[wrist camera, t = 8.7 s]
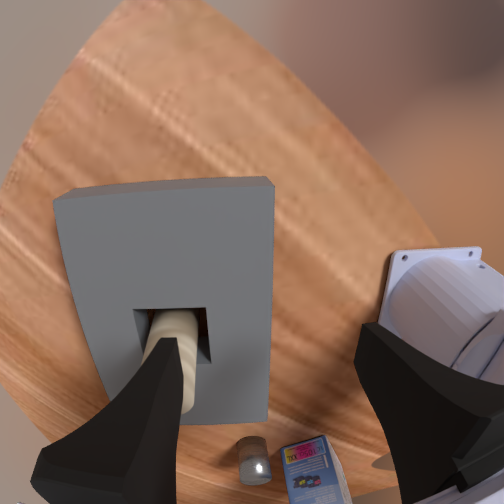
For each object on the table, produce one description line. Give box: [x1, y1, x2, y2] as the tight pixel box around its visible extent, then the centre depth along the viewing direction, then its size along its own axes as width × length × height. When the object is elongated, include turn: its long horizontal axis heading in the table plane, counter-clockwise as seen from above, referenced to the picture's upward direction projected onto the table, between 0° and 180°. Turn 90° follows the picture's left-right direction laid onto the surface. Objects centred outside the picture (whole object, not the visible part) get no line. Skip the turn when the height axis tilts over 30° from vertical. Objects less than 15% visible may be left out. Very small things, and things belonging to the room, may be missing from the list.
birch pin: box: [141, 307, 200, 415], centre depth 18 cm, size 3×3×8 cm
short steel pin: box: [237, 436, 272, 485], centre depth 27 cm, size 3×3×4 cm
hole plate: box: [53, 176, 275, 425], centre depth 20 cm, size 12×18×3 cm, turn 0°
